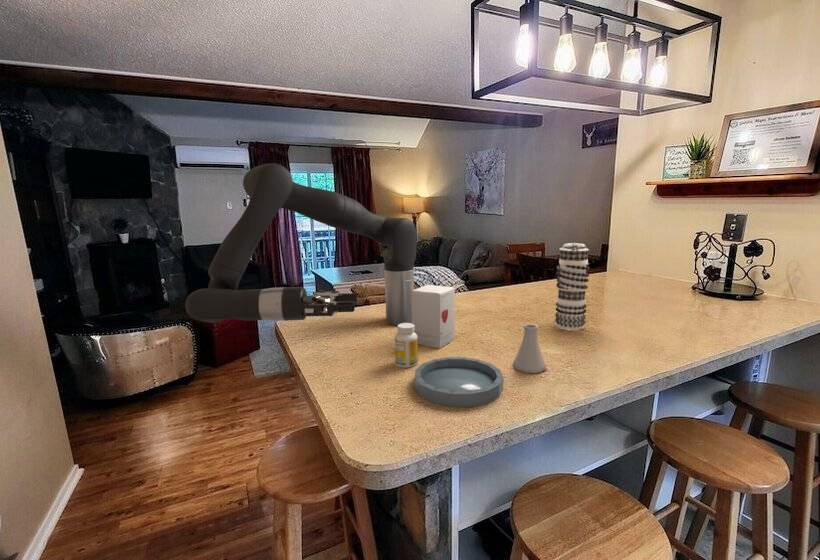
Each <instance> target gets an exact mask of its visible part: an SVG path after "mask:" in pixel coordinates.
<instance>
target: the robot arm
mask: <svg viewBox="0 0 820 560" xmlns="http://www.w3.org/2000/svg"><path fill="white" fill-rule="evenodd" d="M242 186H243V189H244V191H245V193H246V194H247V196H248V197H249V198H250V199H249V202H248V204H247V206H246V208H245V210H244V212H243V213H242V215H241V217H239V219H238V220H237V222H236V223H235V225H234V226H233V227H232V228H231V230H230V231H229V232H228V233H227V235H226V236H225V238H224V239H223V241H222V242H221V244H220V246H219V247H218V248H217V249H218V250H217V252H216V253H215V254H214V257H213V260H212V261H211V263H210V265H209V268H208V272H207V273H208V276H209V277H210V280H209V283H208V287H207V288H206V287H205V288H199V289H196V290H194V291H193V292H191V293H190V294H189V295H188V296H187V298H186V300H185V304H184V308H185V311H186V313H187V315H188V316H190V317H191V318H192V319H194V320H196V321H199V322H205V323H210V324H211V323H212V324H213V323H219V322H221V321H223V320H240V321H271V322H272V321H273V322H278V321H279V322H281V321H283V322H284V321H287V322H288V321H304V320H305V319H306V318H307V317H333V316H334V315H336V314H337V313H353V312H355V311H356V310H355V308H356V307H355V303H357V302H358V294H357V293H356V292H354V293H353V292H352V293H351V292H350V293H348V292H347V293H341V292H340V291H339V290H332V291H331V290H329V291H328V290H327V291H314V292H313V295H312V294H311V295H308V294H307V290H306V288H305V287H303V286H292V287H289V286H287V287H285V286H284V287H268V288H260V289H259V288H257V289H249V288H248V289H238V287H239V284H240V281H241V279H242V277H243V275H244V273H245V271H246V269H247V267H248V266H249V265H248V264H249V263H250V262H251V261H250V260H251V259H252V257H253V255H254V253H255V250H256V249H257V246H258V244H259V243H260V241H261V239H262V237H263V236H264V234H265V232H266V231H267V229H268V227H269V226H270V224H271V223H272V221H273V220H274V218H275V217H276V215H277V214H278V212H279V211H280V210H281V209H282V210H283V209H284V210H288V211H292V212H293V213H297V214H299V215H302V216H303V217H306V218H309V219H311V220H314V221H316V222H318V223H322V224H323V225H326V226H329V227H332V228H334V229H337V230H341V231H344V232H348V233H352V234H357V235H361V236H363V237H364V236H365V237H367V238H369V239H372V240H374V241H375V242H378V243H380V244H382V245H383V246H386V247H387V248H388V247H389V248H392V254H391V256H390V257H389V258H388V259H386V260H384V263H383V264H384V265H383V267H384V288H385V289H384V291H385V293H384V294H385V295H384V296H385V319H386V320H385V321H386V324H388V325H391V326H398V325H399V324H401V323H411V324H412V290H415V275H414V274H415V273H414V270H415V269H414V266H415V262H416V259H417V229H416V228H417V227H416V225H415V223H414V221H412V220H411V219H409V218H406V217H387V216H382V215H379V214H377V213H373V212H371V211H369V210H368V209H367V208H365V206H363V204H362V203H360V202H358V201H356V200H355V199H353V198H351V197H349V196H347V195H344V194H341V193H339V192H335V191H332V190H328V189H323V188H319V187H312V186H308V185H307V186H306V185H303V184H300V183H297V182H295V181H294V180H293V177H292V174H291V173H290V171H289V170H288V169H287V168H286V167H285V166H284V165H281V164H279V163H274V162H273V163H265V164H261V165H257V166H254V167H253V168H251V169H249V170H248V171H247V172H246V173H245V174H244V176H243V179H242Z"/></svg>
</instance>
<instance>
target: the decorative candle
mask: <svg viewBox="0 0 820 560" xmlns="http://www.w3.org/2000/svg"><path fill="white" fill-rule="evenodd" d="M559 251H560V252H559V259H558V260H559V261H558V263H559V264H558V265H557V266H556V270H557V271H556V276H557V278H556V282H557V283H556V284H555V285H556V289H557V290H558V295H557V299H556V300H557V301H556V303H555V306H556V307H555V311H556V312H555V314H554V316H555V318H554V322H555V324H554V326H555V327H556V326H557V327H556V328H558V327H559V328H558V329H560V328H562V329H561V330H564V329H570V330H569V331H572V330H574V331H580V330H579V329H583V328H586V327H585V324H586V318H587V316H586V313H587V310H586V308H587V304H586V291H588V288H589V286H588V285H587V284H586V283H588V282H589V281H590V280H589V279H588V277H590V274H589V273H588V272H587V271H589V270H591V267H590V266H589V265H591V263H590V262H589V258H588V255H589V254H588V253H589V251H590V249H589V248H588V247H587V246H586V244H584V243H579V242H567V243H564V244H563V245H562V247H560V248H559ZM583 330H584V329H583Z"/></svg>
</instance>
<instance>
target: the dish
mask: <svg viewBox="0 0 820 560" xmlns="http://www.w3.org/2000/svg"><path fill="white" fill-rule="evenodd" d="M414 389H415V391H416V392H417V393H418V395H419V396H420V397H421V398H423V399H425V400H427V401H429V402H432V404H437V405H442V406H447V407H451V408H452V407H453V408H454V407H455V408H462V407H463V408H471V407H472V408H473V407H477V406H482V405H487V404H489V403H491V402H492V401H494V400H496V399H498V398H499V397H500V396H501V394H502V392H503V390H504V375H503V373H502V371H501V369H500V368H498V367H496V366H495V365H494V364H492V363H490V362H489V361H488V362H487V361H485V360H483V359H482V360H481V359H478V358H471V357H466V356H464V357H463V356H447V357H442V358H441V357H440V358H439V357H438V358H433V359H431V360H428V361H426V362H423V363H421V364H420V365H419V366H418V367H417V368H415V370H414Z"/></svg>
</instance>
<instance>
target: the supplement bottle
mask: <svg viewBox="0 0 820 560" xmlns="http://www.w3.org/2000/svg"><path fill="white" fill-rule="evenodd" d="M396 326H397V327H396V329H397V333H396V334H395V336H394V358H395V359H394V361H395V362H394V363H395V365H396V366H397V367H398V368H403V369H408V368H409V369H410V368H413V367H416V366H417V365H418V357H419V356H418V344H417V335H416V333H414V330H415V327H414V324H411V323H401V324H399V325H396Z"/></svg>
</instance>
